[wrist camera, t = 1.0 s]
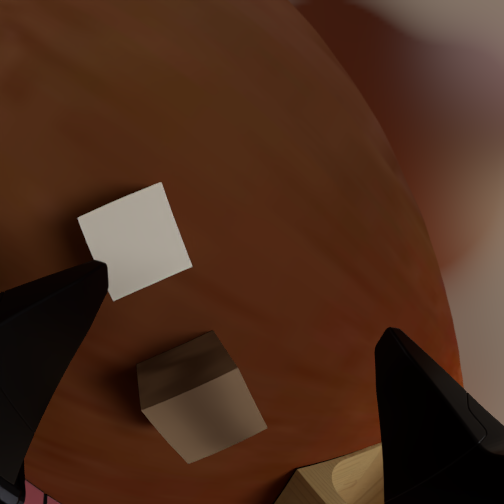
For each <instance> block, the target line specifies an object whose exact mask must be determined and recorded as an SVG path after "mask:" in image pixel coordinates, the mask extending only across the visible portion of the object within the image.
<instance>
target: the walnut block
mask: <svg viewBox="0 0 504 504" xmlns="http://www.w3.org/2000/svg"><path fill="white" fill-rule="evenodd" d="M136 365H137V377H138V388H139V397H140V405H141V411H142V412H143V413H144V415H145V416H146V417H147V418H148V420H149V421H150V422H151V423H152V424H153V426H154V427H155V428H156V429H157V430H158V431H159V433H160V434H161V435H162V436H163V437H164V438H165V439H166V441H167V442H168V443H169V444H170V445H171V446H172V447H173V448H174V449H175V450H176V451H177V453H178V454H179V455H180V456H181V457H182V458H183V459H184V460H185V461H186V462H187V463H188V464H189V463H192V462H194V461H197V460H200V459H202V458H204V457H207V456H209V455H212V454H214V453H216V452H219V451H221V450H223V449H225V448H228V447H230V446H232V445H234V444H236V443H238V442H241V441H243V440H245V439H247V438H249V437H251V436H253V435H255V434H257V433H259V432H261V431H263V430H265V429H266V428H267V426H266V424H265V422H264V420H263V418H262V416H261V414H260V412H259V410H258V408H257V406H256V404H255V402H254V400H253V398H252V396H251V394H250V392H249V390H248V388H247V386H246V384H245V382H244V380H243V377H242V375H241V373H240V371H239V369H238V367H237V366H236V364H235V363H234V361H233V360H232V358H231V357H230V355H229V354H228V352H227V351H226V349H225V348H224V346H223V345H222V343H221V342H220V340H219V339H218V337H217V336H216V334H215V333H214V331H213V330H212V331H210V332H208V333H206V334H204V335H202V336H200V337H197V338H195V339H193V340H191V341H189V342H186V343H184V344H182V345H180V346H178V347H175V348H173V349H171V350H169V351H166V352H164V353H162V354H160V355H157V356H155V357H153V358H150V359H148V360H146V361H143V362H141V363H139V364H136Z"/></svg>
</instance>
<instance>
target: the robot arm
mask: <svg viewBox="0 0 504 504" xmlns="http://www.w3.org/2000/svg"><path fill="white" fill-rule="evenodd" d="M108 288H109V281H108V267H107V264H106V263H105V262H101V261H98V260H93V261H90V262H87V263H84V264H81V265H78V266H75V267H72V268H69V269H66V270H63V271H60V272H57V273H54V274H51V275H48V276H46V277H43V278H40V279H37V280H34V281H31V282H29V283H26V284H23V285H20V286H18V287H15V288H12V289H9V290H7V291H5V293H4V292H1V293H0V504H24V502H25V497H26V487H25V474H24V458H25V455H26V453H27V450H28V448H29V445H30V443H31V441H32V438H33V436H34V433H35V431H36V429H37V427H38V425H39V422H40V420H41V418H42V416H43V414H44V412H45V410H46V408H47V406H48V403H49V401H50V399H51V397H52V395H53V393H54V392H55V390H56V388H57V386H58V384H59V382H60V380H61V378H62V376H63V374H64V373H65V371H66V369H67V367H68V365H69V363H70V362H71V360H72V358H73V356H74V355H75V353H76V351H77V349H78V348H79V346H80V344H81V342H82V341H83V339H84V337H85V336H86V334H87V332H88V330H89V329H90V327H91V325H92V323H93V321H94V318H95V316H96V314H97V312H98V310H99V308H100V306H101V304H102V302H103V300H104V298H105V296H106V294H107V291H108ZM375 370H376V393H377V402H378V411H379V420H380V430H381V442H382V457H383V479H384V504H504V426H503V425H502V424H501V423H500V422H499V421H498V420H497V419H495V418H494V417H493V416H492V415H491V414H490V413H489V412H488V411H486V410H485V409H484V408H483V407H482V406H481V405H480V404H479V403H478V402H477V401H476V400H475V399H474V398H473V397H472V396H471V395H470V394H469V393H466V391H465V389H463V388H462V387H461V386H460V385H459V384H458V383H457V382H456V381H455V380H454V379H453V378H452V377H451V376H450V375H449V374H448V373H447V372H446V371H445V370H444V369H443V368H442V367H440V366H439V365H438V364H437V363H436V362H435V361H434V360H433V359H432V358H431V357H430V356H429V355H428V354H427V353H425V352H424V351H423V350H422V349H421V348H420V347H419V346H418V345H417V344H416V343H415V342H413V341H412V340H411V339H410V338H409V337H408V336H407V335H406V334H405V333H404V332H402V331H401V330H400V329H398V328H392V327H389V328H387V329H386V330H385V332H384V333H383V335H382V337H381V338H380V340H379V341H378V343H377V345H376V347H375Z"/></svg>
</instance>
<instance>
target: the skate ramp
mask: <svg viewBox="0 0 504 504" xmlns="http://www.w3.org/2000/svg"><path fill="white" fill-rule="evenodd" d="M274 504H384V479H383V457H382V442H381V443H379V444H376V445H373V446H370V447H368V448H365V449H362V450H359V451H357V452H354V453H351V454H348V455H345V456H342V457H339V458H336V459H332V460H329V461H326V462H322V463H319V464H315V465H312V466H308V467H304V468H300V469H297V470H296V472H295V473H294V475H293V476H292V478H291V479H290V481H289V483H288V484H287V486H286V487H285V489H284V490H283V492H282V493H281V495H280V496H279V497H278V499H277V500H276V502H275V503H274Z"/></svg>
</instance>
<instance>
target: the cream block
mask: <svg viewBox="0 0 504 504" xmlns="http://www.w3.org/2000/svg"><path fill="white" fill-rule="evenodd" d="M78 221H79V224H80V227H81V229H82V232H83V234H84V237H85V239H86V242H87V244H88V247H89V249H90V252H91V254H92V256H93V259H94V260H98V261H101V262H105V263H106V264H107V267H108V281H109V288H108V291H109V294H110V296H111V298H112V300H113V301H115V300H117V299H119V298H122V297H124V296H126V295H128V294H131V293H133V292H135V291H137V290H140V289H142V288H144V287H147V286H149V285H151V284H153V283H156V282H158V281H160V280H163V279H165V278H167V277H169V276H172V275H174V274H176V273H179V272H181V271H183V270H185V269H188V268H190V267H192V264H191V261H190V259H189V256H188V254H187V251H186V249H185V246H184V243H183V241H182V238H181V236H180V233H179V230H178V228H177V225H176V222H175V219H174V217H173V214H172V211H171V209H170V206H169V203H168V200H167V197H166V194H165V192H164V189H163V186H162V183H161V182H160V183H157V184H155V185H152V186H150V187H147V188H145V189H142V190H140V191H137V192H135V193H132V194H130V195H127V196H125V197H123V198H120V199H118V200H116V201H113V202H111V203H109V204H106V205H104V206H102V207H100V208H98V209H95V210H93V211H91V212H89V213H87V214H84V215H82V216H80V217H78Z"/></svg>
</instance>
